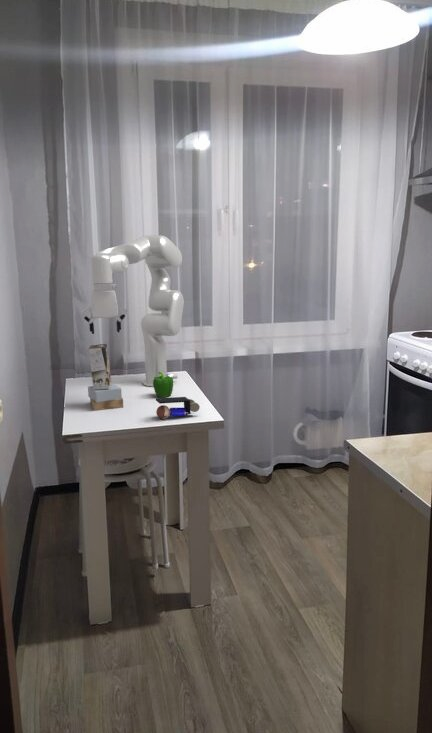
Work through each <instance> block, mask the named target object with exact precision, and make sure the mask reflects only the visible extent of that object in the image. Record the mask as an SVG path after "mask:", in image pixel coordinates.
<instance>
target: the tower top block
mask: <svg viewBox="0 0 432 733" xmlns="http://www.w3.org/2000/svg"><path fill="white" fill-rule="evenodd" d="M87 396H88V398H89V399H90V398H91V399H93V400H94V401H96V402H102V401H108V400H114V399H121V398H123V396H122V388H121V387H119V386H118V385H116V384H115V383H113V382H111V385H110V388H109V389H98V390H93V385H89V386H87Z"/></svg>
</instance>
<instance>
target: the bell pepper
mask: <svg viewBox="0 0 432 733" xmlns="http://www.w3.org/2000/svg"><path fill="white" fill-rule="evenodd" d="M158 373H159V374H161V376H159V377H154V380H153V389H154V390H153V391H154V393H155V395H156V396H157V397H158V398H168V397H170V396H172V394H173V391H174V379H172V378H171V377H170V376H167V377H164V374H163V373H162V372H158Z"/></svg>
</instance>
